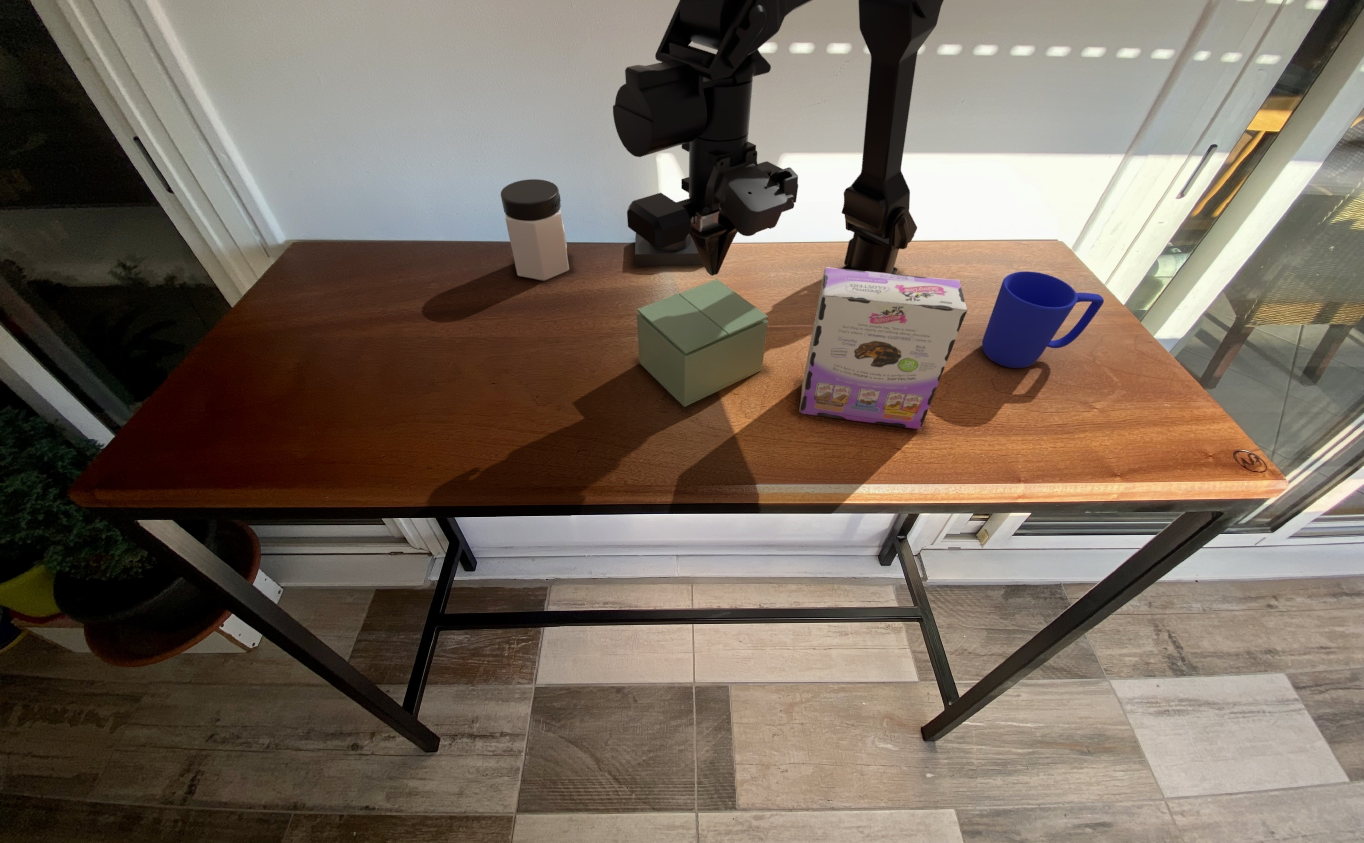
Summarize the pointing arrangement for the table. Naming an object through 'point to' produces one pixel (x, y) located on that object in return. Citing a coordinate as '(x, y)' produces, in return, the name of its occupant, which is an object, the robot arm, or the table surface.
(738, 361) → the carton
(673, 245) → the control block
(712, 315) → the flap
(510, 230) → the jar
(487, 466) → the table surface
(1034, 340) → the mug
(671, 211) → the robot arm
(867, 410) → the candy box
